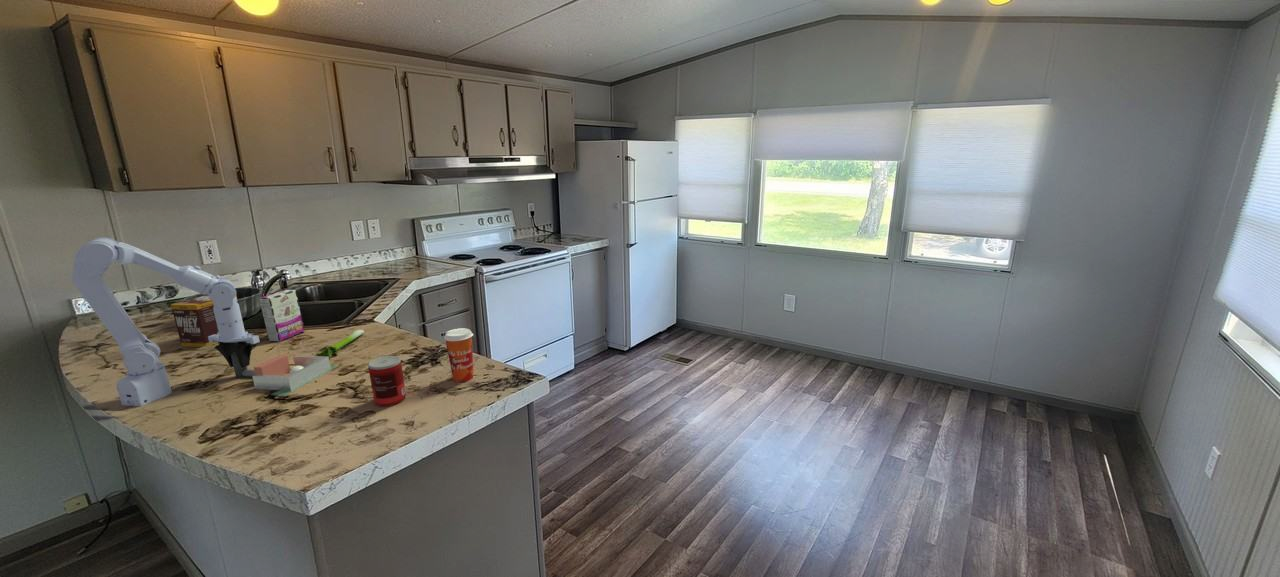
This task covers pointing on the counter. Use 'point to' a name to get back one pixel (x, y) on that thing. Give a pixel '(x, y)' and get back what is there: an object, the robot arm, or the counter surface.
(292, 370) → the ball
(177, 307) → the supplement box
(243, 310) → the bundt pan
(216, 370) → the counter surface
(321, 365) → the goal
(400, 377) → the canned food
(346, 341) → the leek
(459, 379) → the paper cup
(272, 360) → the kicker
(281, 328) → the candy bar box
